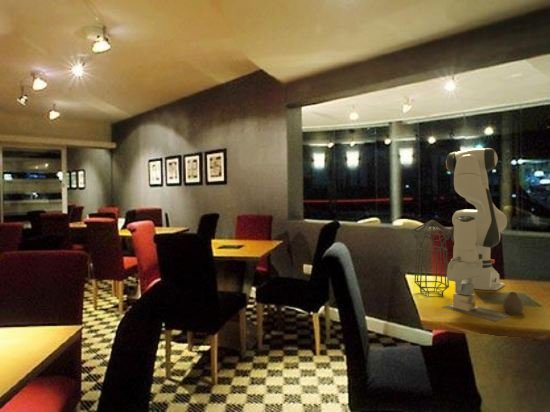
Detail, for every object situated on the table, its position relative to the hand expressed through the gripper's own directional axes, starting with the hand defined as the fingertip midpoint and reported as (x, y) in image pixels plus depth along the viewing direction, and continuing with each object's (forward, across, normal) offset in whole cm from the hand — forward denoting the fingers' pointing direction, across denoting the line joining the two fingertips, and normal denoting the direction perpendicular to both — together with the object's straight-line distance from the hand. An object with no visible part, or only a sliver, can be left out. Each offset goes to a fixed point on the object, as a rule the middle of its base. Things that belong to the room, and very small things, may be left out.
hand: (464, 289), depth 169 cm
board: (+8, -2, -6) cm, 10 cm away
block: (+7, 0, 0) cm, 7 cm away
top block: (+2, 0, 0) cm, 2 cm away
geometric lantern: (+9, +10, +22) cm, 26 cm away
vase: (+9, +9, -15) cm, 19 cm away
